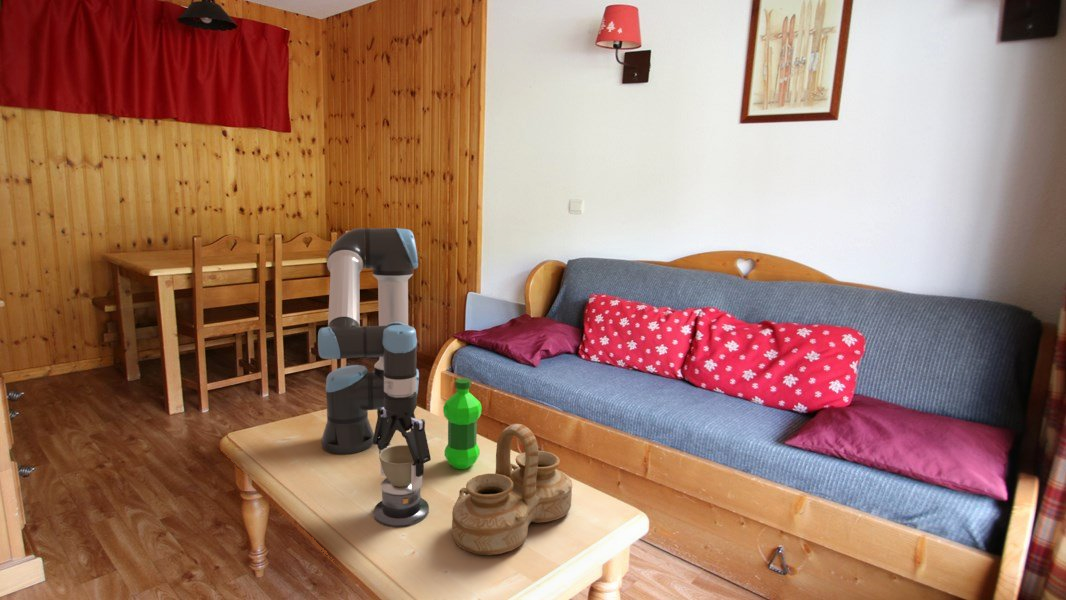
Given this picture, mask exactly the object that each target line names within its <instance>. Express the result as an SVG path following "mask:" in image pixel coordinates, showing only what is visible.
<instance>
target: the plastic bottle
mask: <svg viewBox="0 0 1066 600" xmlns="http://www.w3.org/2000/svg"><path fill="white" fill-rule="evenodd" d="M471 386H472V382H471V380H470V379H469V378H465V377H464V378H463V377H461V378H456V379H455V380H454V388H456V392H455V393H454V394H452V395H451V396H450V397H449V398H448V399H447V400H446V401H445V403H444V405H443V410H442V411H443V416H444V417H445V418H446V420H447V445H446V447H445V449H444V457H445V460H446V461H447V462H448V463H449V464H450V465H451V466H452V467H453V468H454V469H457V470H467V469H469V468H470V467H471V466H473V465H474V464H475V463H476V462H477V460H478V459H479V457H480V453H481V452H480V447H479V445H478V444H477V437H478V436H477V431H478V430H477V424H478V423H477V422H478V419H479V418H480V417H481V415H482V404H481V401H479V400H478V399H477V398H476V397H475V396H474V395H473V394H472V393H471V392H469V391H470V390H469V389H470V388H471Z"/></svg>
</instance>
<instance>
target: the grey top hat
mask: <svg viewBox="0 0 1066 600" xmlns="http://www.w3.org/2000/svg"><path fill="white" fill-rule="evenodd" d="M380 488H381V489H380V490H381V500H380V501H378V503H377V504H376V505H375V506H374V508H373V518H374V520H375V521H376V522H377V523H379V524H380V525H382V526H384V527H390V528H405V527H410V526H413V525H416V524H418V523H420V522H422V521H423V520H425V519H426V518H427V516H428V515H429V511H430V509H429V507H430V505H429V503H428V501H426V499H424V498H423V497H421V487H419V488H417V489H415V490H412V488H411V483H410V484H409V485H406V486H401V487H399V486H394V485H392V484H391V483H390V482H389V480H388V479H387V477H386V478H384V479H383V480H382V481H381V484H380Z"/></svg>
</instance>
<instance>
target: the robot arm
mask: <svg viewBox="0 0 1066 600" xmlns="http://www.w3.org/2000/svg"><path fill="white" fill-rule="evenodd" d="M416 245H417V244H416V240H415V235H414V234H413V231H412V230H410V229H408V228H407V229H406V228H399V227H393V228H392V227H389V228H387V227H385V228H384V227H383V228H377V227H376V228H375V227H373V228H372V227H371V228H368V227H367V228H366V227H359V228H358V227H357V228H354V229H351V230H349V231H347V232H345V233H343V234H342V235H341V236H340V237H338V239H336V240H335V241H334V243H332V245H331V248H330V249H329V251H328V254H327V258H326V259H327V260H326V267H327V269H328V271H329V274H330V278H329V280H330V281H329V296H328V297H329V301H328V302H329V303H328V320H327V323H328V324H327V326H326V327H325V326H324V327H320V328H319V330H318V334H317V349H318V356H319V357H320V358H321V359H323V360H324V359H325V360H328V359H329V360H339V359H340V360H341V359H343V360H344V359H361V358H379V359H378V360H377V362H376V363H374V365H373V367H374V368H373V369H374V370H368V368H367V367H366V366H365V365H361V364H360V365H359V364H353V365H345V366H341V367H339V368H336V369H333V370H332V371H330V372H329V373H328V374H327V376H326V379H325V382H326V383H325V392H326V423H325V427H324V430H323V434H322V437H321V448H322V449H323V450H324V451H326V452H328V453H331V454H335V455H336V454H338V455H346V454H348V455H349V454H355V453H356V454H357V453H359V452H363V451H366V450H367V449H369V448H371V447H372V446H373V445H374V446H375V445H377V448H378V450H379V452H378V453H379V459H380V453H381V452H382V451H383V450H384V449H386V448H389V447H390V446H392V445H391V442H392V439H393V437H394V435H395V433H396V431H397V432H399V433H401V436H402V438H404V440H405V442H406V445H408V447H409V450H410V453H411V455H412V458H413V461H414V462H413V463H411V488H412V490H415V489H417V488H419V487H420V488H421V487H423V476H424V474H425V472H424V471H425V468H424V466H425V464H426V463H428V462H429V461H431V458H432V457H431V454H430V449H429V448H430V447H429V444H428V439H427V434H426V429H425V428H426V427H425V426H426V420H425V419H423V418H422V419H417V418H416V415H415V410H416V408H417V406H418V399H417V397H418V392H419V380H420V379H419V378H420V372H419V369H418V368H417V350H418V349H417V347H418V339H417V330H416V329H415V327H414V326H411V325H409V280H410V278H411V277H413V275H414V270H416V269H417V268H419V262H418V261H419V260H418V259H419V258H418V251H417V246H416ZM363 269H366V270H367V269H371V270H372V276H373V277H374V278H375V279H376V280H377V287H378V288H377V289H378V291H377V292H378V293H377V295H378V296H377V298H378V302H377V303H378V325H372V326H371V325H369V326H366V325H365V326H364V325H363V326H361V323H360V322H361V321H360V320H361V319H360V314H361V313H360V312H361V311H360V310H361V308H360V303H361V300H360V287H361V286H360V273H361V272H362V271H363ZM368 411H377V412H376V413H377V414H376V415H377V419H376V423H375V429H374V430H373V427H372V425H371V423H370V420H369V416H368V415H369V414H368ZM407 431H408V432H407ZM418 457H419V458H418ZM380 476H381V477H383V476H385V474H384V472H383V469H382V466H381V465H380Z"/></svg>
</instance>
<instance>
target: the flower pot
mask: <svg viewBox="0 0 1066 600" xmlns="http://www.w3.org/2000/svg"><path fill="white" fill-rule="evenodd" d="M388 447H389V448H386V449H384V450H383V451H382V452H381V453H380V458H379V461H380V467H381V466H382V469H383V472H384V474H385V475H384V476H385V477H386V478H387V479H388V480H389V482H390V483H391V484H392V485H394V486H399V487H401V486H406V485H409V484H410V483H411V463H413V462H414V461H413V458H412V455H411V453H410V450H409V447H408V445H407V444H401V445H398V444H397V445H391V446H388ZM418 458H419V457H418Z"/></svg>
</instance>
